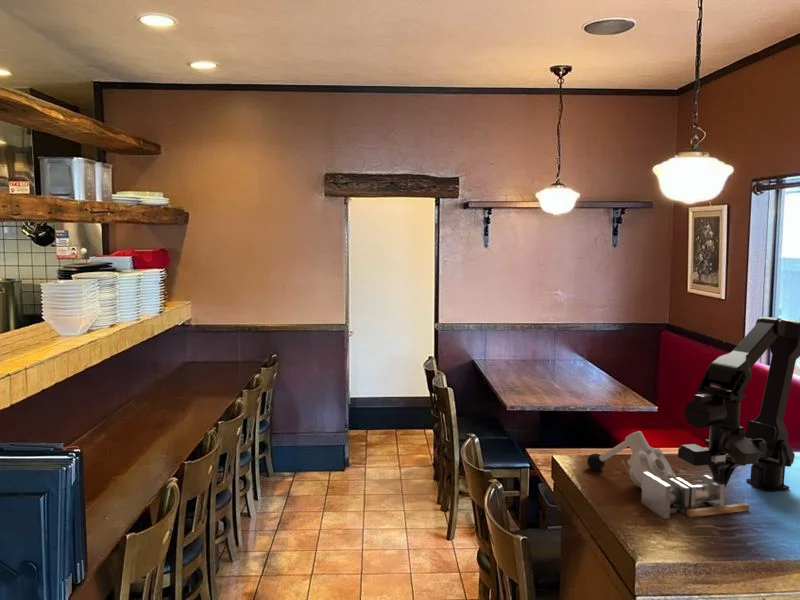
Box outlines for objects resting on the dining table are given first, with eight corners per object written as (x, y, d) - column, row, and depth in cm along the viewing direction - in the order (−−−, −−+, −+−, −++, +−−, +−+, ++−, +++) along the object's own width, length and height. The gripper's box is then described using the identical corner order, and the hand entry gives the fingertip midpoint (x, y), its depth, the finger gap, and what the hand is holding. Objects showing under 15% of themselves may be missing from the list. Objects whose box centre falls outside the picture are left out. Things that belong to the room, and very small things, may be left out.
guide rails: (718, 493, 147) (719, 488, 147) (748, 510, 138) (749, 505, 138) (662, 499, 144) (663, 494, 143) (689, 517, 135) (690, 511, 135)
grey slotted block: (705, 498, 144) (707, 474, 144) (723, 509, 139) (724, 484, 138) (674, 501, 142) (675, 477, 142) (690, 512, 137) (691, 487, 137)
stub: (668, 500, 143) (669, 469, 143) (692, 515, 136) (694, 483, 135) (641, 502, 142) (642, 472, 141) (664, 518, 134) (665, 486, 133)
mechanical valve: (659, 490, 142) (625, 427, 149) (602, 519, 153) (573, 460, 160) (684, 483, 148) (650, 423, 155) (628, 511, 160) (598, 455, 167)
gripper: (714, 435, 130) (710, 509, 131) (791, 427, 134) (786, 500, 136) (677, 419, 140) (674, 488, 142) (750, 412, 145) (746, 480, 147)
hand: (721, 489), depth 141 cm, fingers closed
